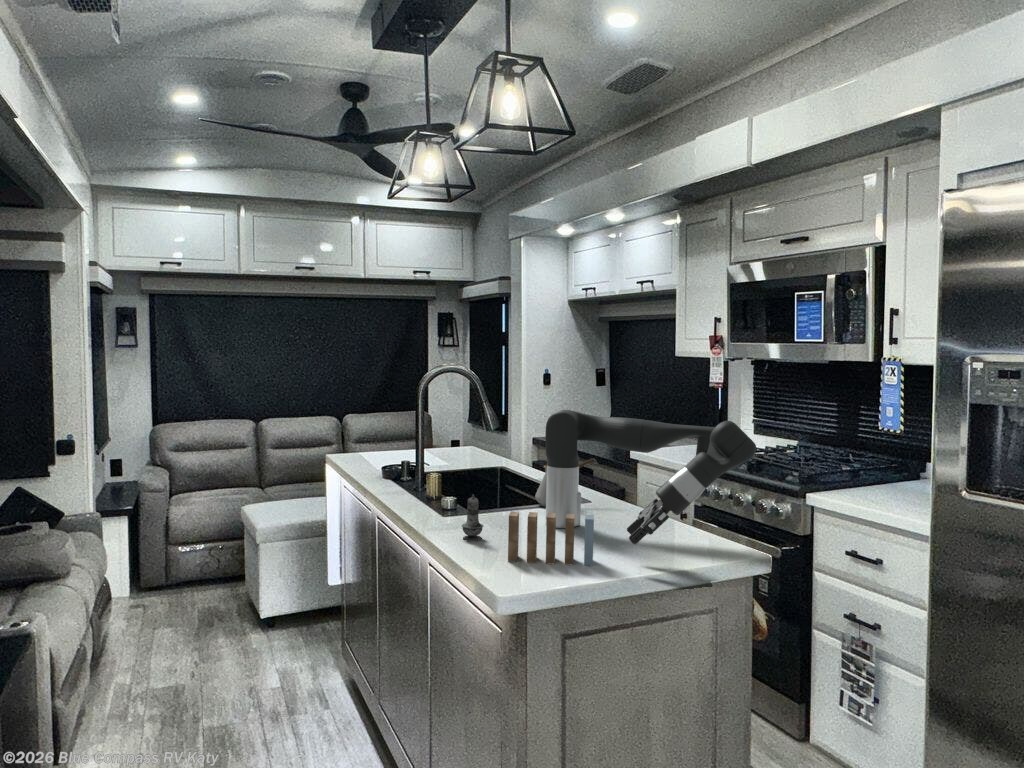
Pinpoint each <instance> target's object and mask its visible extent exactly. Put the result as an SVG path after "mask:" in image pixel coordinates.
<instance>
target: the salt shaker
mask: <svg viewBox="0 0 1024 768" xmlns="http://www.w3.org/2000/svg"><path fill="white" fill-rule="evenodd" d="M466 509H467V510H466V511H465V512H466V521H465V523H463V524H461V527H462V531H463V533H464V534H465V535H464V536H463V537H462V538H463V539H462V540H463V541H465V540H467V541H466V542H478V541H477V540H480V541H482V540H483V537H481V535H480V534H481V533H482V531H483V528H484V527H485V525H484V524H482V523H480V521H479V520H480V519H479V513H480V512H481V511H480V510H479V499H478V498H477V497H475V494H474V493H473V494H472V495H471V497H469V498H468V499H467V508H466ZM481 539H482V540H481Z"/></svg>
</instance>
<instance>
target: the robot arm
mask: <svg viewBox="0 0 1024 768" xmlns="http://www.w3.org/2000/svg"><path fill="white" fill-rule="evenodd" d="M689 438H697V441H696V443H697V444H696V450H695V451H696V452H695V456H694V457H693V458H692V459H691V460H689V462H687V464H685V465H684V466H683V467H681V469H679V470H678V471H676V472H675V473H674V474H673V475H672V476H671V477H669V478H668V479H667V481H665V482H664V483H663V484H662V485H661V486H660V487H659V488H658V489H656V490H655V494H656V496H657V497H658V498H659V499H658V498H655V499H653V500H652V501H651V502H650V503H649V504H648V505H647V506H646V507H645V508H643V509H642V510H641V511H640V512H639V513H638V515H637V517H636V518H637V519H635V520H634V521H633V522H632V523H631V524H629V526H627V528H626V530H627V532H628V533H629V536H628V539H629V541H630V542H631V544H633V545H637V544H638V543H639V542H640V541H641V540H642V539H643V538H645V537H646V536H649V535H653V534H654V532H655V531H656V530H658V529H659V528H660V527H661V526H662V525H663V524H664V523H665V522H666V521H668V520H669V518H670V517H669V515H668V514H670V513H669V512H672V513H673V514H674V515H676V516H679V515H680V514H682V513H683V511H685V510H686V509H688V507H690V506H691V504H692V503H694V502H695V501H696V500H697V499H699V497H700V496H701V495H702V494H703V493H704V491H705V490H706V489H708V487H710V485H711V484H713V483H714V482H715V481H716V480H717V479H718V478H719V477H720V476H722V475H724V474H725V473H727V472H729V471H730V470H733V469H735V468H736V467H738V466H740V465H743V464H745V463H747V462H748V461H750V460H751V459H753V457H754V456H755V454H756V452H757V445H756V443H755V441H753V440H752V439H751V438H750V437H749V436H748V435H747V434H746V432H744V431H743V430H742V429H741V428H740V426H738V424H736V423H735V422H734V421H731V420H724V421H722V422H720V423H718V424H717V425H716V426H703V425H702V426H701V425H689V424H687V425H686V424H677V423H675V424H674V423H668V422H667V423H666V422H663V421H662V422H661V421H654V420H647V419H641V418H633V417H632V418H631V417H622V416H621V417H620V416H619V417H618V416H617V417H615V416H597V415H591V414H587V413H583V412H578V411H574V410H571V409H562V410H558V411H555V412H554V413H552V414H551V415H550V416H549V417H548V418H547V421H546V424H545V458H546V465H547V489H546V507H545V525H546V526H547V514H548V513H556V529H557V528H559V529H566V514H575V520H574V528H575V527H577V526H578V527H579V526H581V517H582V516H581V515H582V511H581V510H582V507H581V506H582V493H581V492H580V491H579V483H580V482H579V479H580V478H579V477H580V476H579V475H580V468H579V464H580V457H579V453H578V441H589V442H597V443H601V444H604V445H607V446H610V447H612V448H617V449H620V450H624V451H628V452H629V451H630V452H637V453H642V454H643V453H647V454H648V453H653V452H655V451H657V450H659V449H661V448H664V447H666V446H668V445H670V444H672V443H675V442H678V441H680V440H684V439H685V440H686V439H689Z"/></svg>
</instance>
